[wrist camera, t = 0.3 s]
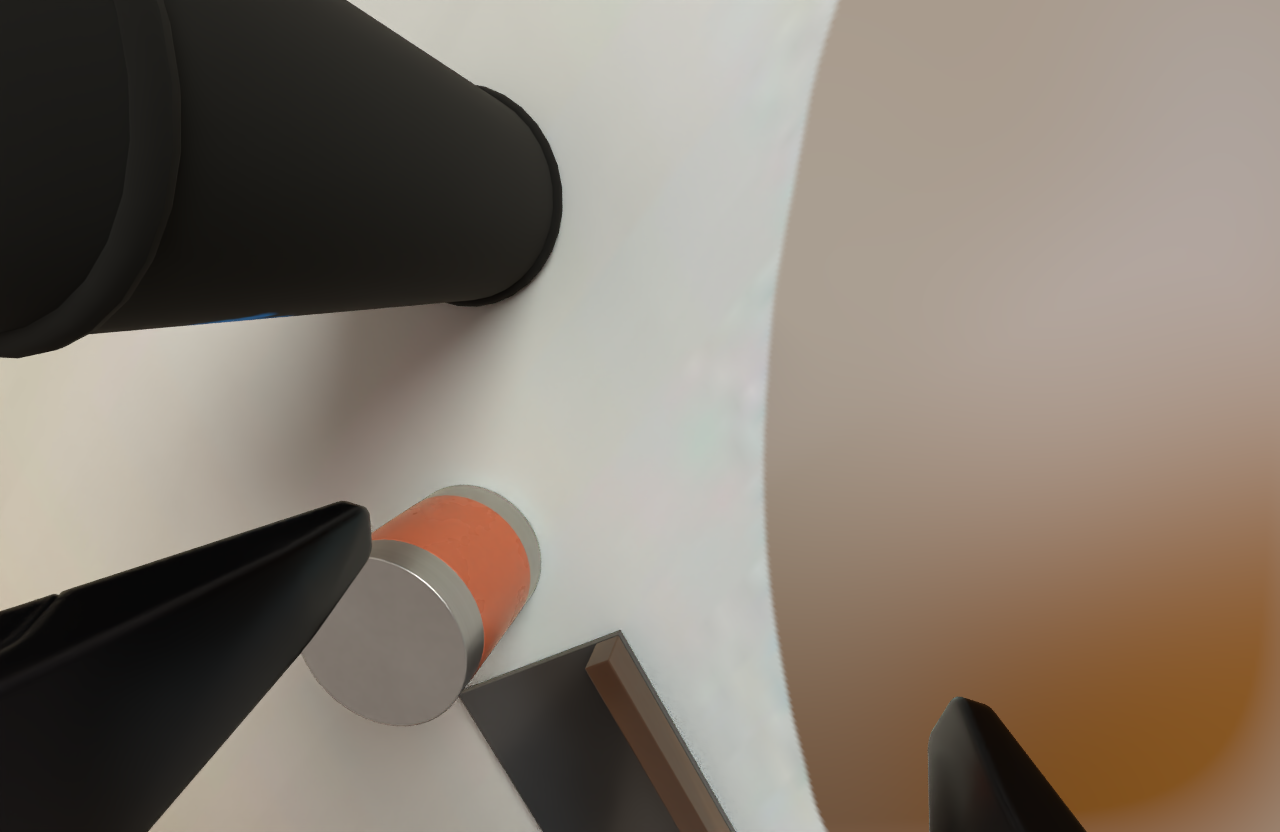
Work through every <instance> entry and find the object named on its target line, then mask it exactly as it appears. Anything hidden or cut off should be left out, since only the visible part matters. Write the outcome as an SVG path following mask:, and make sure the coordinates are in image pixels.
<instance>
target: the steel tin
mask: <svg viewBox="0 0 1280 832" xmlns="http://www.w3.org/2000/svg"><path fill="white" fill-rule="evenodd" d="M371 537H372V551H371V554H370V557H369V559H368V561H367V563H366V564H365V565H364V567H363V568H362V570H361V571H360V573H359V574H358V575H357V577H356V578H355V580H354V581H353V582H352V584H351V585H350V587H349V588H348V590H347V591H346V592H345V594H344V595H343V597H342V598H341V600H340V601H339V602H338V604H337V605H336V607H335V608H334V609H333V611H332V612H331V614H330V615H329V617H328V618H327V619H326V621H325V622H324V624H323V625H322V626H321V628H320V629H319V631H318V632H317V633H316V635H315V636H314V637H313V639H312V640H311V641H310V643H309V644H308V645H307V646H306V647H305V649H304V650H303V651H302V652H301V653H302V655H303V658H304V660H305V662H306V664H307V666H308V667H309V669H310V671H311V673H312V674H313V675H314V677H315V678H316V680H317V681H318V682H319V684H320V685H321V686H322V687H323V688H324V689H325V690H326V692H328V693H329V694H330V695H331V696H332V697H333V698H334V699H335V700H336V701H338V702H339V703H340V704H342V705H343V706H344V707H346V708H347V709H349V710H350V711H352V712H354V713H356V714H358V715H360V716H362V717H364V718H366V719H369V720H371V721H374V722H378V723H382V724H386V725H393V726H411V725H418V724H421V723H425V722H428V721H430V720H432V719H434V718H436V717H438V716H440V715H441V714H443V713H444V712H445V711H446V710H447V709H448V708H450V707H451V706H452V704H453V703H454V702H455V700H456V699H457V698H458V696H459V695H460V694H461V692H462V691H463V689H464V688H465V687H466V685H467V684H468V683H469V681H470V680H471V679H472V678H473V676H474V675H475V674H476V672H477V671H478V670H479V668H480V667H481V665H482V664H483V663H484V661H485V660H486V658H487V657H488V656H489V654H490V653H491V651H492V650H493V649H494V647H495V646H496V645H497V643H498V642H499V640H500V639H501V638H502V636H503V635H504V633H505V632H506V631H507V629H508V628H509V626H510V625H511V624H512V622H513V621H514V620H515V618H516V617H517V615H518V614H519V613H520V611H521V610H522V608H523V606H524V605H525V603H526V602H527V601H528V599H529V598H530V596H531V595H532V594H533V592H534V590H535V588H536V586H537V583H538V580H539V577H540V572H541V554H540V549H539V544H538V541H537V538H536V535H535V533H534V531H533V529H532V527H531V525H530V524H529V522H528V521H527V519H526V518H525V517H524V516H523V514H522V513H521V512H520V511H519V510H518V509H517V508H516V507H515V506H514V505H513V504H512V503H510V502H509V501H508V500H506V499H505V498H503V497H502V496H500V495H498V494H497V493H494V492H492V491H490V490H487V489H484V488H481V487H476V486H470V485H457V486H450V487H446V488H443V489H440V490H438V491H436V492H434V493H432V494H431V495H429V496H428V497H426V498H425V499H423V500H422V501H420V502H418V503H417V504H415V505H413V506H412V507H410V508H409V509H407V510H406V511H404V512H403V513H401V514H400V515H398V516H397V517H395V518H394V519H392V520H391V521H389V522H388V523H386V524H385V525H383V526H382V527H380V528H379V529H377V530H376V531H374V532H373V533H371Z"/></svg>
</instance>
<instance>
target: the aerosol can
mask: <svg viewBox="0 0 1280 832" xmlns="http://www.w3.org/2000/svg"><path fill="white" fill-rule="evenodd" d="M561 216H562V185H561V180H560V175H559V170H558V165H557V163H556V160H555V157H554V155H553V152H552V150H551V147H550V145H549V143H548V141H547V139H546V138H545V136H544V135H543V133H542V131H541V130H540V128H539V126H538V125H537V123H536V122H535V121H534V120H533V119H532V118H531V117H530V116H529V115H528V114H527V113H526V112H525V111H524V109H523V108H522V107H520V106H519V105H517V104H516V103H515V102H513V101H512V100H510V99H509V98H508V97H506V96H505V95H503V94H501V93H498V92H496V91H494V90H491V89H489V88H487V87H483V86H478V85H474V84H473V83H471V82H470V81H468V80H467V79H465V78H464V77H462V76H461V75H459V74H458V73H456V72H455V71H453V70H452V69H450V68H448V67H447V66H445V65H444V64H442V63H441V62H439V61H438V60H436V59H435V58H433V57H432V56H430V55H429V54H427V53H426V52H424V51H423V50H421V49H420V48H418V47H417V46H415V45H414V44H412V43H410V42H409V41H407V40H406V39H404V38H403V37H401V36H400V35H398V34H397V33H395V32H394V31H392V30H391V29H389V28H388V27H386V26H385V25H383V24H382V23H380V22H379V21H377V20H376V19H374V18H373V17H371V16H369V15H368V14H366V13H365V12H363V11H362V10H360V9H359V8H357V7H356V6H354V5H353V4H351V3H350V2H348V1H347V0H0V357H3V358H22V357H26V356H31V355H36V354H40V353H45V352H49V351H54V350H57V349H60V348H63V347H65V346H67V345H69V344H71V343H73V342H75V341H76V340H78V339H80V338H82V337H84V336H86V335H88V334H97V333H108V332H119V331H131V330H142V329H153V328H164V327H176V326H187V325H198V324H209V323H221V322H232V321H243V320H254V319H266V318H277V317H288V316H299V315H311V314H322V313H333V312H344V311H356V310H367V309H378V308H389V307H401V306H412V305H423V304H434V303H448V304H452V305H456V306H476V307H477V306H482V305H487V304H493V303H496V302H499V301H501V300H503V299H505V298H508V297H510V296H512V295H514V294H515V293H516V292H518V291H519V290H520V289H522V288H523V287H525V286H526V285H527V284H528V283H529V282H530V281H531V280H532V279H533V278H534V277H535V276H536V275H537V273H538V272H539V271H540V270H541V269H542V267H543V266H544V264H545V262H546V260H547V259H548V257H549V255H550V254H551V252H552V250H553V247H554V244H555V241H556V238H557V236H558V233H559V228H560V222H561Z"/></svg>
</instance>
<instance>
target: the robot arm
mask: <svg viewBox="0 0 1280 832" xmlns="http://www.w3.org/2000/svg"><path fill="white" fill-rule="evenodd" d="M371 551H372V537H371V526H370V515H369V512H368V510H367V509H366V508H365V507H363V506H360V505H357V504H354V503H351V502H347V501H339V502H336V503H333V504H330V505H327V506H323V507H320V508H317V509H314V510H311V511H308V512H305V513H302V514H299V515H296V516H293V517H290V518H287V519H284V520H280V521H277V522H274V523H271V524H268V525H265V526H262V527H259V528H256V529H253V530H250V531H247V532H244V533H241V534H237V535H234V536H231V537H228V538H225V539H222V540H219V541H216V542H213V543H210V544H207V545H204V546H201V547H197V548H194V549H191V550H188V551H185V552H182V553H179V554H176V555H173V556H170V557H167V558H164V559H161V560H157V561H154V562H151V563H148V564H145V565H142V566H139V567H136V568H133V569H130V570H127V571H124V572H120V573H117V574H114V575H111V576H108V577H105V578H102V579H99V580H96V581H93V582H90V583H87V584H84V585H80V586H77V587H74V588H71V589H68V590H65V591H63V592H61V593H60V594H59V595H57V594H52V595H49V596H46V597H43V598H40V599H37V600H34V601H31V602H28V603H25V604H22V605H19V606H16V607H12V608H9V609H6V610H3V611H0V832H148V831H149V830H150V829H151V827H152V826H153V825H154V824H155V823H156V822H157V820H158V819H159V818H160V817H161V816H162V815H163V813H164V812H165V811H166V810H167V809H168V808H169V806H170V805H171V804H172V803H173V802H174V801H175V799H176V798H177V797H178V796H179V795H180V794H181V792H182V791H183V790H184V789H185V788H186V787H187V785H188V784H189V783H190V782H191V781H192V780H193V778H194V777H195V776H196V775H197V774H198V773H199V771H200V770H201V769H202V768H203V767H204V766H205V764H206V763H207V762H208V761H209V760H210V759H211V757H212V756H213V755H214V754H215V753H216V752H217V750H218V749H219V748H220V747H221V746H222V745H223V743H224V742H225V741H226V740H227V739H228V738H229V736H230V735H231V734H232V733H233V732H234V731H235V729H236V728H237V727H238V726H239V725H240V724H241V722H242V721H243V720H244V719H245V718H246V717H247V715H248V714H249V713H250V712H251V711H252V710H253V708H254V707H255V706H256V705H257V704H258V703H259V701H260V700H261V699H262V698H263V697H264V696H265V694H266V693H267V692H268V691H269V690H270V689H271V687H272V686H273V685H274V684H275V683H276V682H277V680H278V679H279V678H280V677H281V676H282V675H283V673H284V672H285V671H286V670H287V669H288V668H289V666H290V665H291V664H292V663H293V662H294V661H295V659H296V658H297V657H298V656H299V655H300V653H301V652H302V651H303V650H304V649H305V647H306V646H307V645H308V644H309V643H310V641H311V640H312V639H313V637H314V636H315V635H316V633H317V632H318V631H319V629H320V628H321V626H322V625H323V624H324V622H325V621H326V619H327V618H328V617H329V615H330V614H331V612H332V611H333V609H334V608H335V607H336V605H337V604H338V602H339V601H340V600H341V598H342V597H343V595H344V594H345V592H346V591H347V590H348V588H349V587H350V585H351V584H352V582H353V581H354V580H355V578H356V577H357V575H358V574H359V573H360V571H361V570H362V568H363V567H364V565H365V564H366V563H367V561H368V559H369V557H370V554H371ZM928 777H929V779H928V780H929V826H930V827H929V831H930V832H1086V830H1085V829H1084V828H1083V827H1082V825H1081V824H1080V823H1079V821H1078V820H1077V819H1076V817H1075V816H1074V815H1073V814H1072V812H1071V811H1070V810H1069V808H1068V807H1067V806H1066V805H1065V803H1064V802H1063V801H1062V799H1061V798H1060V797H1059V795H1058V794H1057V793H1056V792H1055V790H1054V789H1053V788H1052V786H1051V785H1050V784H1049V782H1048V781H1047V780H1046V778H1045V777H1044V776H1043V775H1042V773H1041V772H1040V771H1039V769H1038V768H1037V767H1036V765H1035V764H1034V763H1033V762H1032V760H1031V759H1030V758H1029V756H1028V755H1027V754H1026V752H1025V751H1024V750H1023V748H1022V747H1021V746H1020V745H1019V743H1018V742H1017V741H1016V739H1015V738H1014V737H1013V735H1012V734H1011V733H1010V732H1009V730H1008V729H1007V728H1006V726H1005V725H1004V724H1003V722H1002V721H1001V720H1000V719H999V717H998V716H997V715H996V713H995V712H994V711H993V710H992V709H991V708H990V707H989V706H987V705H985V704H982V703H979V702H976V701H973V700H970V699H966V698H963V697H955V698H953V699H952V700H951V701H950V703H949V704H948V706H947V708H946V709H945V711H944V713H943V714H942V716H941V717H940V719H939V721H938V722H937V724H936V726H935V727H934V729H933V731H932V732H931V735H930V738H929V744H928Z"/></svg>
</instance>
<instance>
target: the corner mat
mask: <svg viewBox="0 0 1280 832" xmlns="http://www.w3.org/2000/svg"><path fill="white" fill-rule="evenodd" d="M459 697H460V698H461V700H462V702H463V703H464V705H465V706H466V708H467V710H468V711H469V713H470V715H471V716H472V718H473V719H474V721H475V723H476V724H477V726H478V728H479V729H480V731H481V732H482V734H483V736H484V737H485V739H486V741H487V742H488V744H489V745H490V747H491V749H492V750H493V752H494V753H495V755H496V757H497V758H498V760H499V762H500V763H501V765H502V766H503V768H504V770H505V771H506V773H507V775H508V776H509V778H510V779H511V781H512V783H513V784H514V786H515V787H516V789H517V791H518V792H519V794H520V796H521V797H522V799H523V800H524V802H525V804H526V805H527V807H528V809H529V810H530V812H531V813H532V815H533V817H534V818H535V820H536V822H537V823H538V825H539V826H540V828H541V830H542V831H543V832H736V831H735V830H734V828H733V826H732V824H731V823H730V821H729V819H728V817H727V816H726V814H725V812H724V810H723V809H722V807H721V805H720V803H719V802H718V800H717V798H716V796H715V795H714V793H713V791H712V789H711V788H710V786H709V784H708V782H707V781H706V779H705V777H704V775H703V774H702V772H701V770H700V768H699V767H698V765H697V763H696V761H695V759H694V758H693V756H692V754H691V752H690V751H689V749H688V747H687V745H686V744H685V742H684V740H683V738H682V737H681V735H680V733H679V731H678V730H677V728H676V726H675V724H674V723H673V721H672V719H671V717H670V716H669V714H668V712H667V710H666V709H665V707H664V705H663V703H662V702H661V700H660V698H659V696H658V695H657V693H656V691H655V689H654V688H653V686H652V684H651V682H650V681H649V679H648V677H647V675H646V674H645V672H644V670H643V668H642V667H641V665H640V663H639V661H638V660H637V658H636V656H635V654H634V653H633V651H632V649H631V647H630V646H629V644H628V642H627V640H626V639H625V637H624V635H623V633H622V632H621V630H619V631H616V632H614V633H611V634H609V635H606V636H603V637H601V638H598V639H595V640H593V641H590V642H587V643H585V644H582V645H580V646H577V647H574V648H572V649H569V650H566V651H564V652H561V653H559V654H556V655H553V656H551V657H548V658H545V659H543V660H540V661H538V662H535V663H532V664H530V665H527V666H524V667H522V668H519V669H517V670H514V671H511V672H509V673H506V674H503V675H501V676H498V677H496V678H493V679H490V680H488V681H485V682H482V683H480V684H477V685H474V686H472V687H469V688H467V689H464V690H463V691H462V692H461V694H460V695H459Z"/></svg>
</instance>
